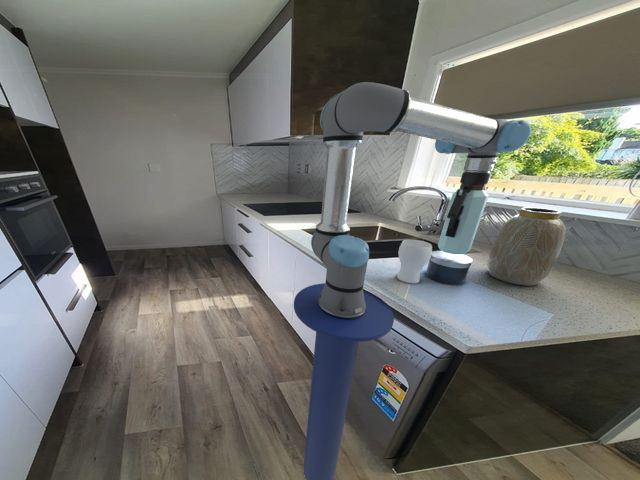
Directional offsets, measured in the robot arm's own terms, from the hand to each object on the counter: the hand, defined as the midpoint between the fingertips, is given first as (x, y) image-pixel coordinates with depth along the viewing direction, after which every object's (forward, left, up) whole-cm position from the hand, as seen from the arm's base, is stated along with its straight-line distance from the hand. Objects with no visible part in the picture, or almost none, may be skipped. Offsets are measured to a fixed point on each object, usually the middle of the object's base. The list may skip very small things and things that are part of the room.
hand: (457, 234), depth 91 cm
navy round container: (0, 0, -18) cm, 18 cm away
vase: (+13, +22, -18) cm, 31 cm away
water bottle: (0, 0, -7) cm, 7 cm away
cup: (-6, -14, -18) cm, 24 cm away
